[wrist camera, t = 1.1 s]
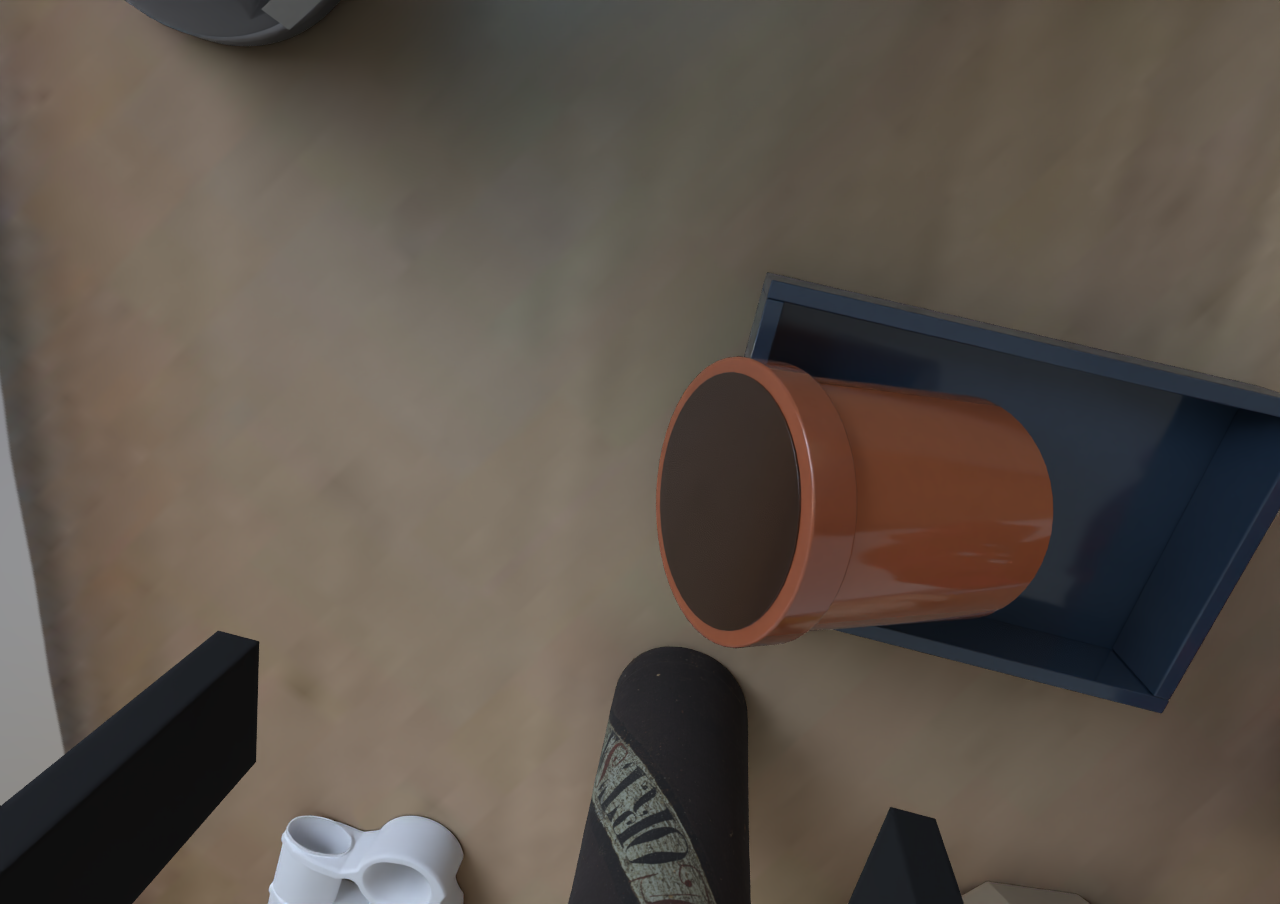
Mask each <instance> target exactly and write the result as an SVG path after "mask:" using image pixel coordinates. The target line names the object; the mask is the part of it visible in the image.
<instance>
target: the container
mask: <svg viewBox="0 0 1280 904" xmlns="http://www.w3.org/2000/svg"><path fill="white" fill-rule="evenodd" d="M568 904H751V899H750V859H749V807H748V718H747V706H746V701H745V698H744V695H743V692H742V690H741V688H740V686H739V684H738V683H737V681H736V680H735V678H734V677H733V676H732V674H731V673H730V672H729V671H728V670H727V669H726V668H725V667H724V666H722V665H721V664H720V663H719V662H717V661H716V660H715V659H713V658H711V657H709V656H707V655H705V654H703V653H701V652H698V651H695V650H692V649H688V648H682V647H660V648H655V649H652V650H649V651H647V652H645V653H643V654H641V655H639V656H638V657H636V658H635V659H634V660H633V661H632V662H631V663H630V664H629V665H628V666H627V667H626V668H625V670H624V671H623V673H622V674H621V676H620V678H619V680H618V683H617V686H616V690H615V694H614V698H613V702H612V706H611V710H610V715H609V720H608V725H607V729H606V734H605V739H604V743H603V748H602V752H601V757H600V761H599V766H598V770H597V775H596V778H595V783H594V788H593V794H592V799H591V803H590V807H589V812H588V816H587V821H586V825H585V830H584V834H583V839H582V845H581V850H580V854H579V859H578V863H577V868H576V873H575V877H574V882H573V886H572V891H571V894H570V898H569V903H568Z"/></svg>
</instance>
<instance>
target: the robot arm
mask: <svg viewBox="0 0 1280 904" xmlns="http://www.w3.org/2000/svg"><path fill="white" fill-rule="evenodd" d="M125 1H126V2H128V3H129V4H131V5H132V6H134V7H135V8H137V9H138V10H140V11H141V12H143V13H144V14H146V15H147V16H149V17H150V18H152V19H154V20H156V21H158V22H160V23H162V24H164V25H166V26H168V27H171V28H173V29H176V30H178V31H181V32H184V33H187V34H190V35H193V36H196V37H199V38H202V39H205V40H208V41H212V42H216V43H220V44H226V45H232V46H260V45H266V44H271V43H276V42H279V41H282V40H285V39H288V38H291V37H293V36H295V35H297V34H299V33H302V32H303V31H305V30H307V29H308V28H310V27H311V26H313V25H315V24H316V23H317V22H318V21H320V20H321V19H322V18H323V17H325V16H326V15H327V14H328V13H329V12H330V11H331V10H332V9H333V8H334V7H335V6H336V5H337V4H338V3H339V2H340V0H125ZM258 666H259V641H256V640H252V639H248V638H244V637H240V636H237V635H233V634H229V633H225V632H221V631H217V632H216V633H215V634H214V635H212V636H211V637H210V638H209V639H207V640H206V641H205V642H204V643H202V644H201V645H200V646H199V647H197V648H196V649H195V650H194V651H192V652H191V653H190V654H189V655H188V656H186V657H185V658H184V659H183V660H181V661H180V662H179V663H178V664H176V665H175V666H174V667H173V668H171V669H170V670H169V671H168V672H166V673H165V674H164V675H163V676H161V677H160V678H159V679H158V680H157V681H155V682H154V683H153V684H152V685H150V686H149V687H148V688H147V689H145V690H144V691H143V692H142V693H140V694H139V695H138V696H137V697H135V698H134V699H133V700H132V701H130V702H129V703H128V704H127V705H126V706H124V707H123V708H122V709H121V710H119V711H118V712H117V713H116V714H114V715H113V716H112V717H111V718H109V719H108V720H107V721H106V722H104V723H103V724H102V725H101V726H99V727H98V728H97V729H96V730H95V731H93V732H92V733H91V734H90V735H88V736H87V737H86V738H85V739H83V740H82V741H81V742H80V743H78V744H77V745H76V746H75V747H73V748H72V749H71V750H70V751H68V752H67V753H66V754H65V755H64V756H62V757H61V758H60V759H59V760H58V761H56V762H55V763H54V764H52V765H51V766H50V767H49V768H47V769H46V770H45V771H44V772H42V773H41V774H40V775H39V776H38V777H36V778H35V779H34V780H33V781H31V782H30V783H29V784H28V785H26V786H25V787H24V788H23V789H22V790H20V791H19V792H18V793H16V794H15V795H14V796H13V797H11V798H10V799H9V800H8V801H6V802H5V803H4V804H3V805H2V806H0V904H132V903H133V902H134V901H135V900H136V899H137V898H138V896H139V895H140V894H141V893H142V892H143V891H144V890H145V888H146V887H147V886H148V885H149V884H150V883H151V882H152V880H153V879H154V878H155V877H156V876H157V875H158V873H159V872H160V871H161V870H162V869H163V868H164V867H165V865H166V864H167V863H168V862H169V861H170V860H171V859H172V857H173V856H174V855H175V854H176V853H177V852H178V851H179V849H180V848H181V847H182V846H183V845H184V844H185V843H186V841H187V840H188V839H189V838H190V837H191V836H192V835H193V833H194V832H195V831H196V830H197V829H198V828H199V827H200V825H201V824H202V823H203V822H204V821H205V820H206V818H207V817H208V816H209V815H210V814H211V813H212V812H213V810H214V809H215V808H216V807H217V806H218V805H219V804H220V802H221V801H222V800H223V799H224V798H225V797H226V796H227V794H228V793H229V792H230V791H231V790H232V789H233V788H234V786H235V785H236V784H237V783H238V782H239V781H240V780H241V778H242V777H243V776H244V775H245V774H246V773H247V772H248V770H249V769H250V768H251V767H252V766H253V765H254V763H255V762H256V741H257V703H258ZM848 904H964V902H963V899H962V896H961V893H960V890H959V887H958V884H957V881H956V879H955V876H954V873H953V870H952V867H951V864H950V861H949V858H948V855H947V852H946V849H945V846H944V843H943V840H942V837H941V834H940V831H939V828H938V825H937V822H936V819H934V818H930V817H927V816H923V815H919V814H915V813H911V812H907V811H904V810H900V809H896V808H892V807H890V809H889V811H888V813H887V816H886V818H885V820H884V823H883V825H882V827H881V829H880V832H879V834H878V836H877V839H876V841H875V843H874V846H873V848H872V850H871V852H870V855H869V857H868V859H867V862H866V864H865V866H864V869H863V871H862V873H861V875H860V878H859V880H858V882H857V885H856V887H855V889H854V892H853V894H852V896H851V898H850V901H849V903H848Z"/></svg>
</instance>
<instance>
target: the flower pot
mask: <svg viewBox="0 0 1280 904" xmlns="http://www.w3.org/2000/svg"><path fill="white" fill-rule="evenodd" d="M656 519H657V531H658V540H659V546H660V552H661V557H662V561H663V566H664V569H665V573H666V576H667V579H668V582H669V585H670V587H671V590H672V592H673V595H674V597H675V599H676V601H677V603H678V605H679V607H680V609H681V610H682V612H683V613H684V615H685V617H686V618H687V620H688V621H689V622H690V623H691V624H692V626H693V627H694V628H695V629H696V630H697V631H698V632H699V633H700V634H702V635H703V636H704V637H705V638H707V639H709V640H710V641H712V642H713V643H716V644H718V645H721V646H724V647H730V648H744V647H756V646H768V645H777V644H784V643H787V642H790V641H793V640H795V639H797V638H799V637H800V636H802V635H803V634H805V633H807V632H808V631H817V630H830V629H844V628H857V627H871V626H884V625H897V624H911V623H924V622H937V621H951V620H964V619H972V618H979V617H982V616H986V615H989V614H992V613H994V612H996V611H998V610H1000V609H1002V608H1004V607H1005V606H1006V605H1008V604H1009V603H1011V602H1012V601H1013V600H1015V599H1016V598H1017V597H1018V596H1019V595H1020V594H1021V593H1022V592H1023V591H1024V590H1025V589H1026V588H1027V586H1028V585H1029V584H1030V582H1031V581H1032V580H1033V578H1034V577H1035V575H1036V573H1037V572H1038V570H1039V568H1040V566H1041V564H1042V562H1043V560H1044V557H1045V554H1046V552H1047V549H1048V545H1049V541H1050V537H1051V533H1052V524H1053V495H1052V488H1051V481H1050V478H1049V474H1048V471H1047V467H1046V464H1045V462H1044V460H1043V457H1042V455H1041V452H1040V450H1039V449H1038V447H1037V445H1036V443H1035V442H1034V440H1033V438H1032V437H1031V436H1030V434H1029V433H1028V432H1027V430H1026V429H1025V428H1024V427H1023V425H1022V424H1021V423H1020V422H1019V421H1017V420H1016V419H1015V418H1014V417H1013V416H1012V415H1011V414H1010V413H1008V412H1007V411H1006V410H1004V409H1003V408H1001V407H1000V406H998V405H996V404H994V403H992V402H990V401H988V400H985V399H982V398H979V397H976V396H971V395H964V394H957V393H948V392H940V391H932V390H924V389H915V388H907V387H899V386H891V385H882V384H874V383H866V382H858V381H849V380H841V379H833V378H825V377H816V376H810V375H809V374H808V373H806V372H805V371H803V370H801V369H800V368H798V367H797V366H794V365H791V364H789V363H786V362H780V361H773V360H765V359H758V358H750V357H742V356H735V357H727V358H724V359H721V360H718V361H716V362H714V363H713V364H711V365H709V366H708V367H706V368H705V369H704V370H703V371H702V372H700V373H699V374H698V375H697V376H696V378H695V379H694V380H693V381H692V382H691V383H690V385H689V386H688V388H687V389H686V390H685V392H684V393H683V395H682V397H681V399H680V400H679V402H678V404H677V406H676V408H675V411H674V413H673V415H672V417H671V420H670V423H669V426H668V429H667V432H666V435H665V439H664V443H663V447H662V451H661V456H660V462H659V469H658V476H657V489H656Z"/></svg>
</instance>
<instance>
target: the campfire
mask: <svg viewBox="0 0 1280 904" xmlns="http://www.w3.org/2000/svg"><path fill="white" fill-rule="evenodd" d="M962 899H963V902H964V904H1090V903H1088V902H1087V901H1086V900H1084V899H1083V898H1082V897H1081V896H1079V895H1078V894H1072V893H1065V892H1059V891H1052V890H1045V889H1038V888H1031V887H1024V886H1017V885H1010V884H1003V883H996V882H989V881H987V882H985V883H983V884H981V885H980V886H978V887H976V888H974V889H973V890H971V891H969V892H967V893H966V894H964V895H962Z"/></svg>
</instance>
